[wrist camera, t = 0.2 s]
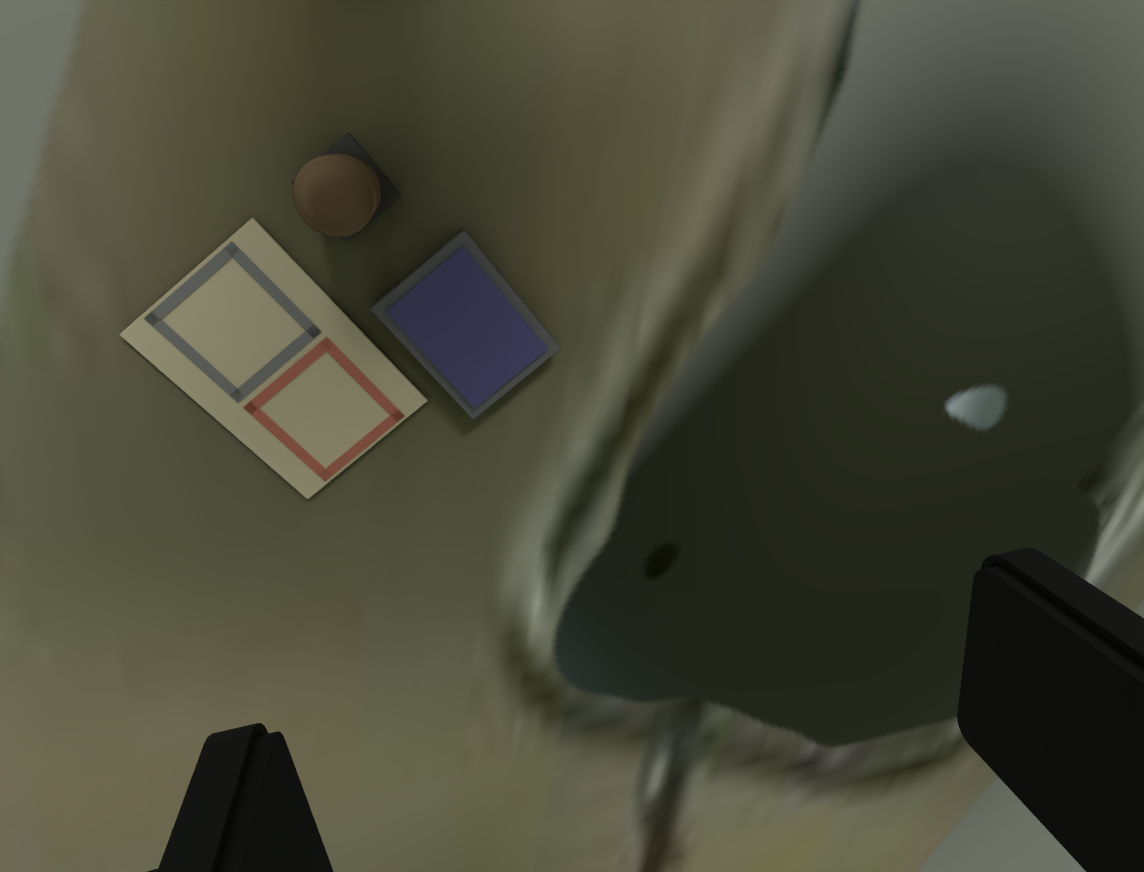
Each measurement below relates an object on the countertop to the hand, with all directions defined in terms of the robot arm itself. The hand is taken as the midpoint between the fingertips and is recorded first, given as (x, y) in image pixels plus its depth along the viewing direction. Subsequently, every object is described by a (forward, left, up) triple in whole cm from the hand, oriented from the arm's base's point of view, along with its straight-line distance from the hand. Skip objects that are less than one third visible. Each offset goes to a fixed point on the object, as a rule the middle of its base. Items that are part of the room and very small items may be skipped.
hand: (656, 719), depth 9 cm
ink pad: (+2, -2, -36) cm, 36 cm away
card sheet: (-3, -12, -36) cm, 38 cm away
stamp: (-8, -2, -36) cm, 37 cm away
